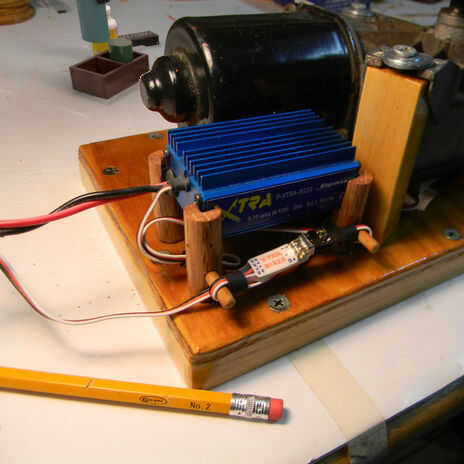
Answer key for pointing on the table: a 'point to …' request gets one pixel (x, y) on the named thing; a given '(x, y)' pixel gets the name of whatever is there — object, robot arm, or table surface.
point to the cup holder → (107, 74)
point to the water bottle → (93, 21)
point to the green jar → (120, 50)
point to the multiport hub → (142, 38)
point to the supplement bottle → (112, 25)
